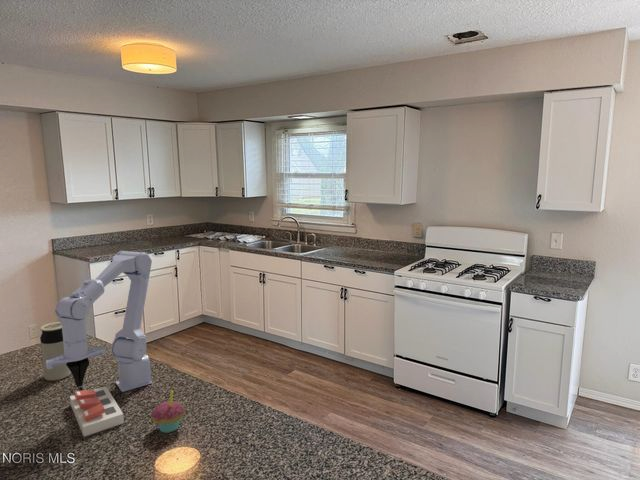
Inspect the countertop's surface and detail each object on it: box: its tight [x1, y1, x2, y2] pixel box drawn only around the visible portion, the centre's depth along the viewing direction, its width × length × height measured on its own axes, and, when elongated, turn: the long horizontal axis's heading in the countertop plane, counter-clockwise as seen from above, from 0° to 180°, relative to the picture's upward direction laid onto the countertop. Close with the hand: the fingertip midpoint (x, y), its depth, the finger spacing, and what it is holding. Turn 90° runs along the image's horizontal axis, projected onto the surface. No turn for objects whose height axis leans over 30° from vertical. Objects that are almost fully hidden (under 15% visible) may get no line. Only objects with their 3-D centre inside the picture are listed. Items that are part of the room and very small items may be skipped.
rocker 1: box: [73, 388, 96, 400], centre depth 128 cm, size 5×4×1 cm
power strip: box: [69, 383, 125, 437], centre depth 128 cm, size 10×30×3 cm, turn 39°
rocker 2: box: [82, 403, 105, 421], centre depth 118 cm, size 5×4×1 cm
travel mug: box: [39, 321, 72, 381], centre depth 146 cm, size 8×8×18 cm
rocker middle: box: [78, 397, 101, 409], centre depth 123 cm, size 5×4×1 cm
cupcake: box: [150, 388, 185, 434], centre depth 117 cm, size 9×8×12 cm
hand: (79, 385), depth 122 cm, fingers closed
